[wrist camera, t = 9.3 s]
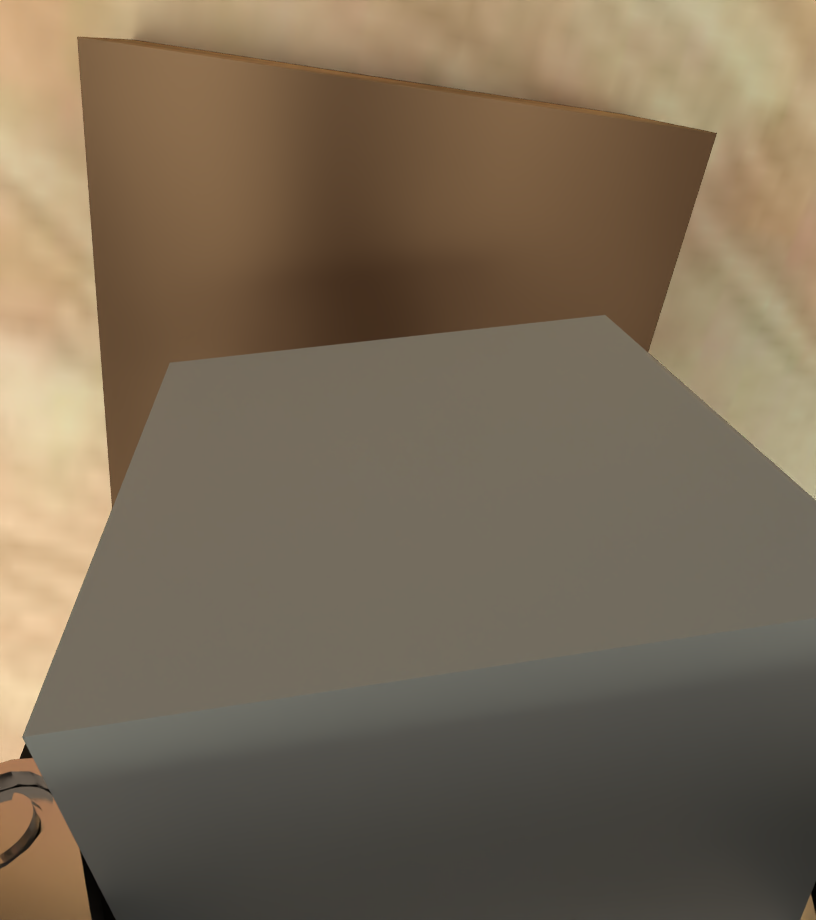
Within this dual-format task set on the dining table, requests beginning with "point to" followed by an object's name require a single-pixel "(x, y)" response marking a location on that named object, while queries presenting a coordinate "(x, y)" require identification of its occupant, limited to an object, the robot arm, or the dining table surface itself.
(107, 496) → the dining table surface
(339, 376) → the grey cube
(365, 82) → the base block
